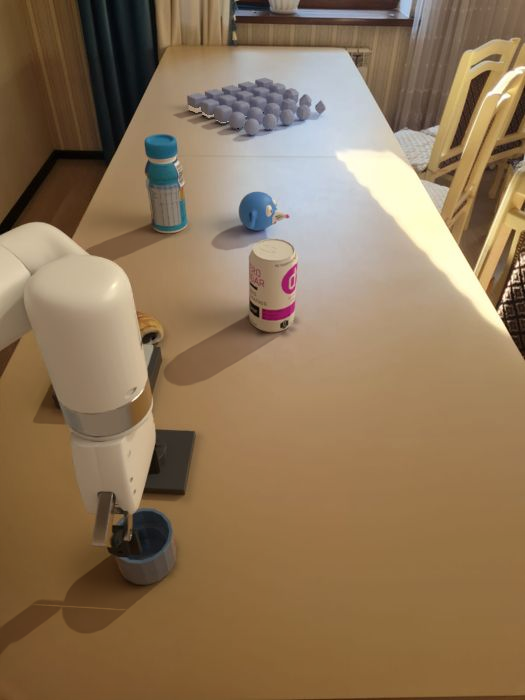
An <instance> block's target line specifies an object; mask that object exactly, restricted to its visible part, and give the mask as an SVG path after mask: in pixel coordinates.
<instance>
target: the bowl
mask: <svg viewBox="0 0 525 700" xmlns="http://www.w3.org/2000/svg"><path fill="white" fill-rule="evenodd" d="M123 523H124V515H123V516H122V517H121V518H120V519H119V520H118V521H117V522H116V524H115V525H123ZM132 528H135V529H136V530H137V534H138V537H139V541H140V544H141V548H142V551H141V554H140V555H129V557H116V556H114V557H115V558H114V559H115V562H116V564H117V567H118V570H119V572H120V574H121V575H122V576H123V578H124V580H127V581H129V582H130V583H133V584H135V585H143V586H147V585H151V584H154V583H157V582H159V581H161V580H163V578H165V577H166V576H167V575H168V574H170V572H171V571H172V569H173V568H174V566H175V563H176V559H177V555H178V552H177V546H176V541H175V535H174V530H173V526H172V522H171V520H170V519H169V518H168V516H167V515H166V514H165V512H162V511H161V510H158V509H156V508H149V507H141V508H138V509H137V511H136V512H135V513H134V514H133V521H132Z"/></svg>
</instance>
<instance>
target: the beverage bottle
mask: <svg viewBox="0 0 525 700" xmlns="http://www.w3.org/2000/svg"><path fill="white" fill-rule="evenodd" d="M143 145H144V150H145V155H146V158H148V160H147V161H146V163H145V166H144V175H145V176H146V179H145V188H146V190H147V197H148V203H149V210H150V219H151V225H152V228H153V230H155V231H156V232H158V233H161V234H175V233H178V232H179V233H180V232H181V231H183V230H185V228H187V226H188V216H187V208H186V194H185V186H186V183H185V177H184V176H183V173H184V169H183V166H182V163H181V162H180V159H178V158H177V156H178V152H179V151H178V150H179V149H178V141H177V138H176V136H174V135H172V134H168V133H167V134H166V133H156V134H152V135H149V136H147V137H146V138H145V139H144V143H143Z"/></svg>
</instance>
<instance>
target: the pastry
mask: <svg viewBox="0 0 525 700" xmlns="http://www.w3.org/2000/svg"><path fill="white" fill-rule="evenodd" d="M136 314H137V319H138V324H139V329H140V335H141V340H142V344H143V345H154V344H158V343H159V342H161V341H162V340H163V338H164V336H165V330H164V328H163V327H162V325H161V323H160V322H159V321H157V320H156V318H154V317H153V316H150V315H148V314H145V313H144V312H142V311H138V310H136Z"/></svg>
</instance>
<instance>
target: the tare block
mask: <svg viewBox="0 0 525 700" xmlns="http://www.w3.org/2000/svg"><path fill="white" fill-rule="evenodd" d="M155 433H156V443H155V447H157V451H158V456H159V461H160V466H161V470H160V473H158V474H148V475H147V479H146V483H145V486H144V490H143V494H158V495H159V494H161V495H179V496H181V495H182V496H185V495H186V491H187V487H188V481H189V475H190V470H191V464H192V458H193V454H194V449H195V442H196V438H197V437H196V430H181V429H180V430H178V429H161V428H159V429H158V428H155Z"/></svg>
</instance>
